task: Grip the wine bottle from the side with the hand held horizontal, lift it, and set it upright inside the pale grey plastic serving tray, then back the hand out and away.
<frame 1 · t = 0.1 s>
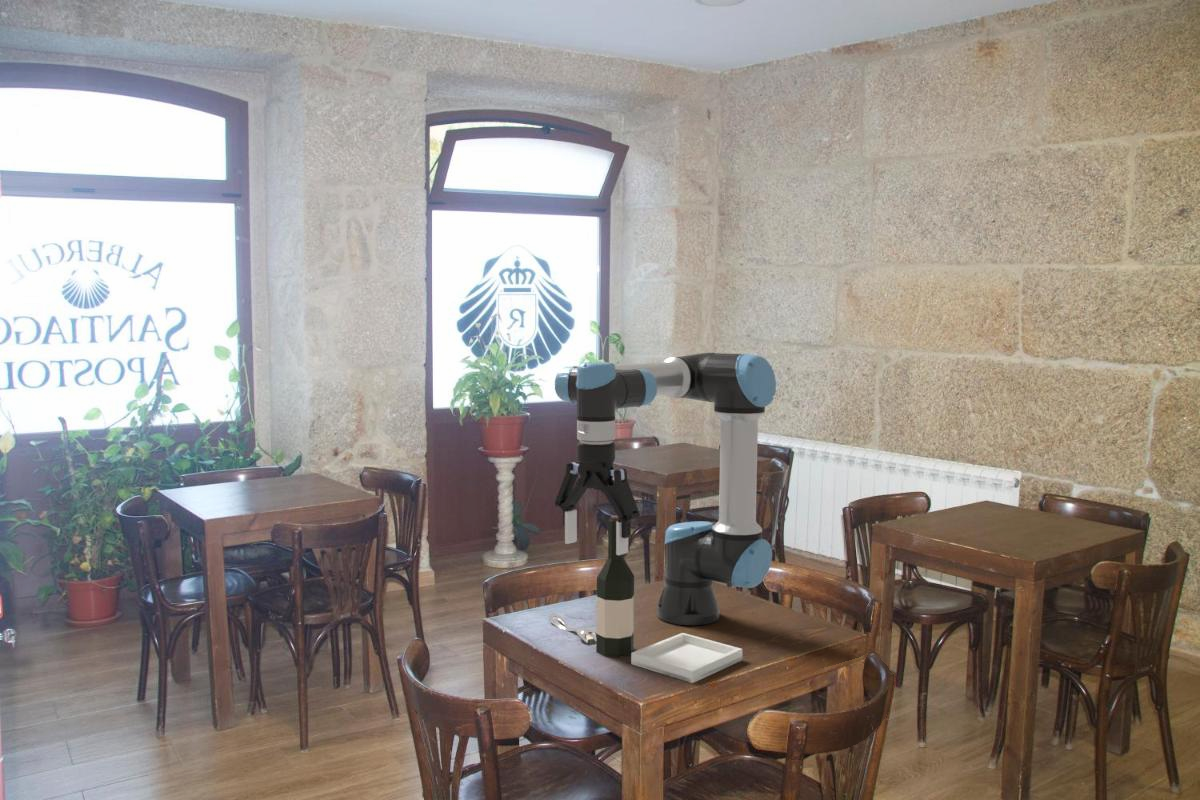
hand: (596, 548, 200), 28 cm above the table, tool pointing down, fingers open, 13 cm apart
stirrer: (572, 634, 236), on the table
serving tray: (687, 662, 216), on the table
wine bottle: (614, 651, 223), on the table
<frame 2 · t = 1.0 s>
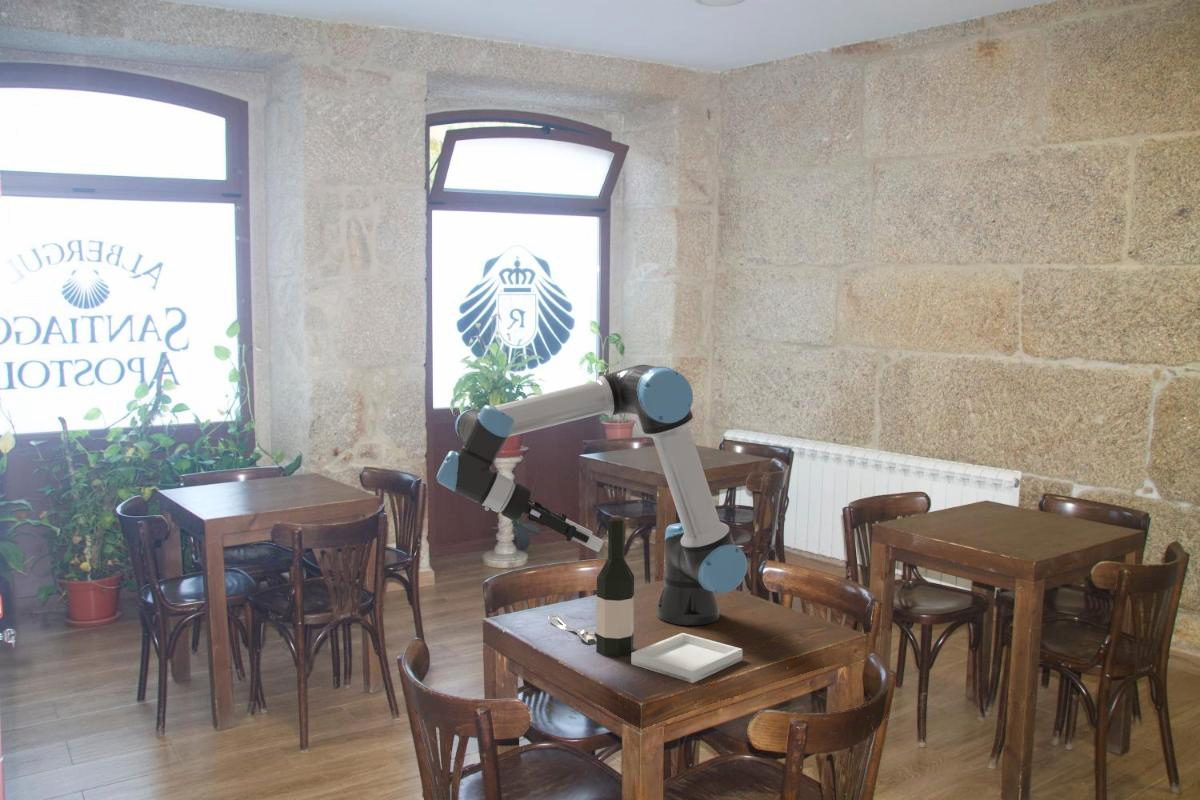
hand: (595, 541, 218), 25 cm above the table, tool tilted 60°, fingers open, 13 cm apart
nothing on the table moved.
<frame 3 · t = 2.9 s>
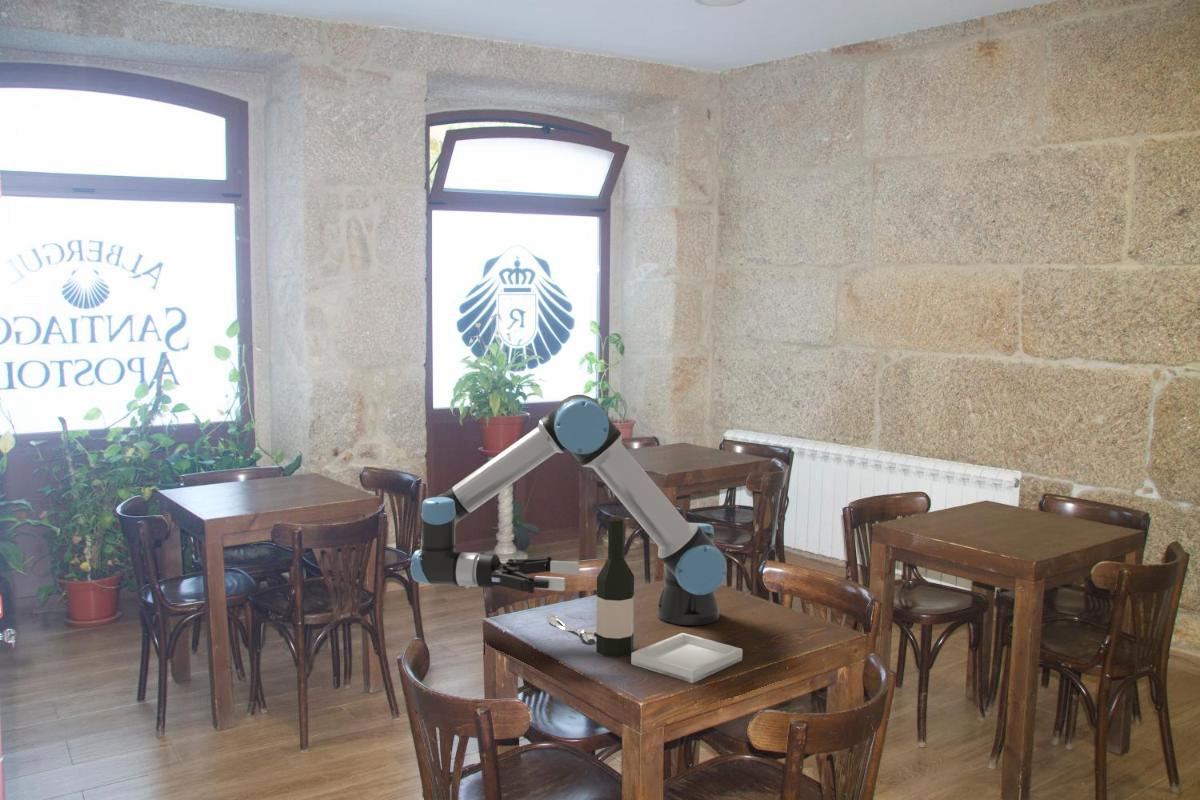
hand: (572, 576, 223), 16 cm above the table, tool horizontal, fingers open, 13 cm apart
nothing on the table moved.
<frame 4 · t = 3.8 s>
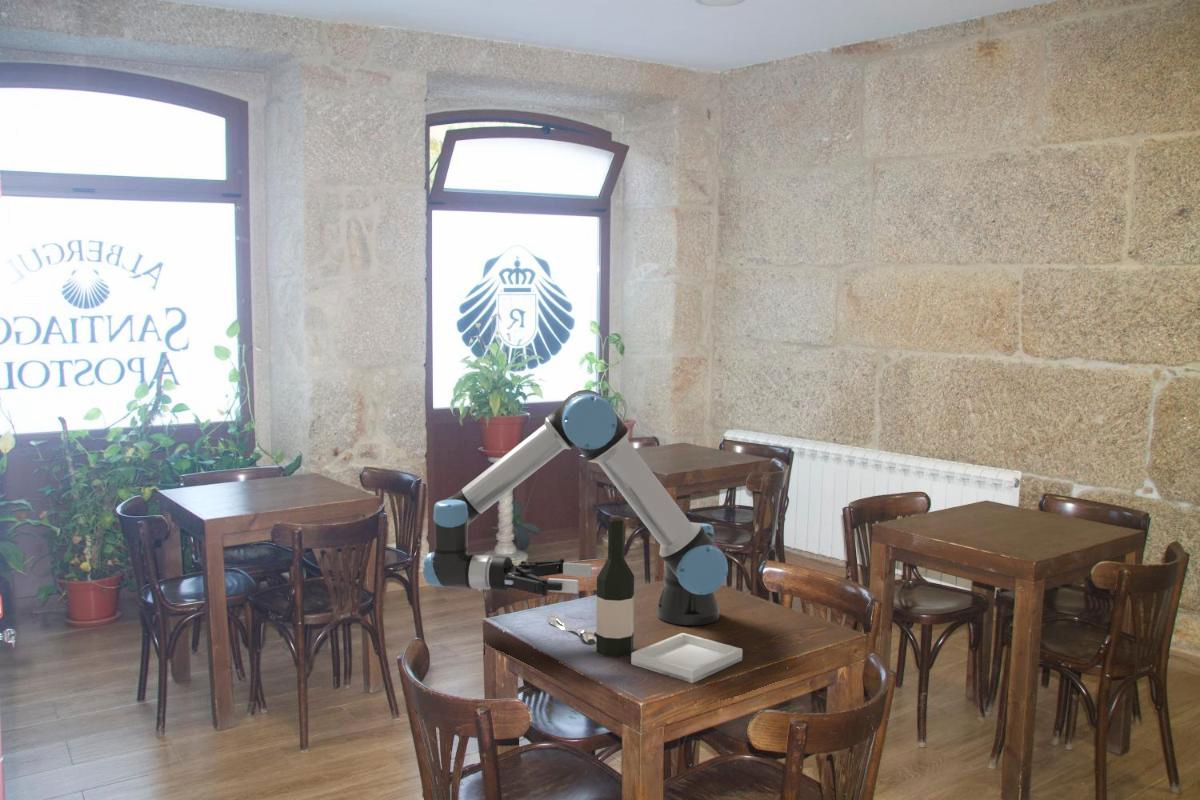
hand: (585, 578, 223), 16 cm above the table, tool horizontal, fingers open, 13 cm apart
nothing on the table moved.
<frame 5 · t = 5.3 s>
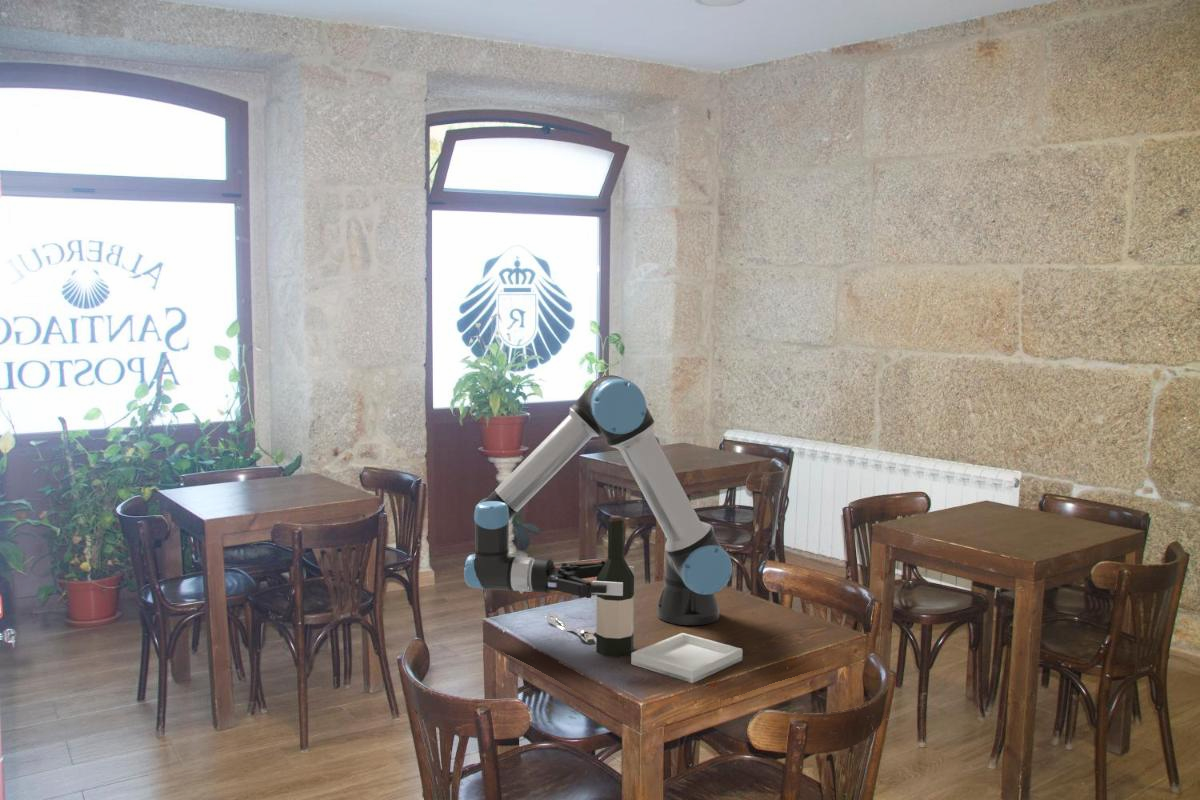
hand: (628, 580, 221), 16 cm above the table, tool horizontal, fingers open, 13 cm apart
nothing on the table moved.
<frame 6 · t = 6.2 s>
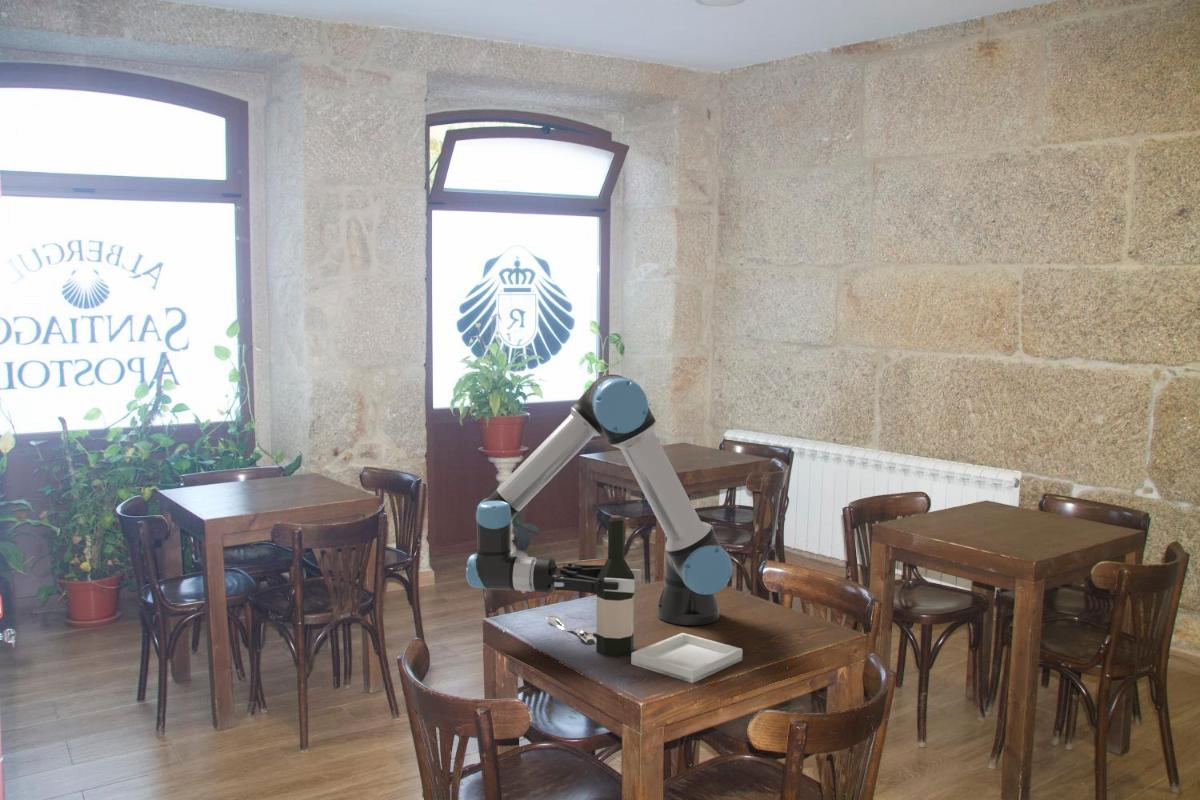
hand: (637, 580, 221), 16 cm above the table, tool horizontal, fingers closed on wine bottle, 8 cm apart
wine bottle: (614, 651, 223), on the table, touching gripper
everything else where it was.
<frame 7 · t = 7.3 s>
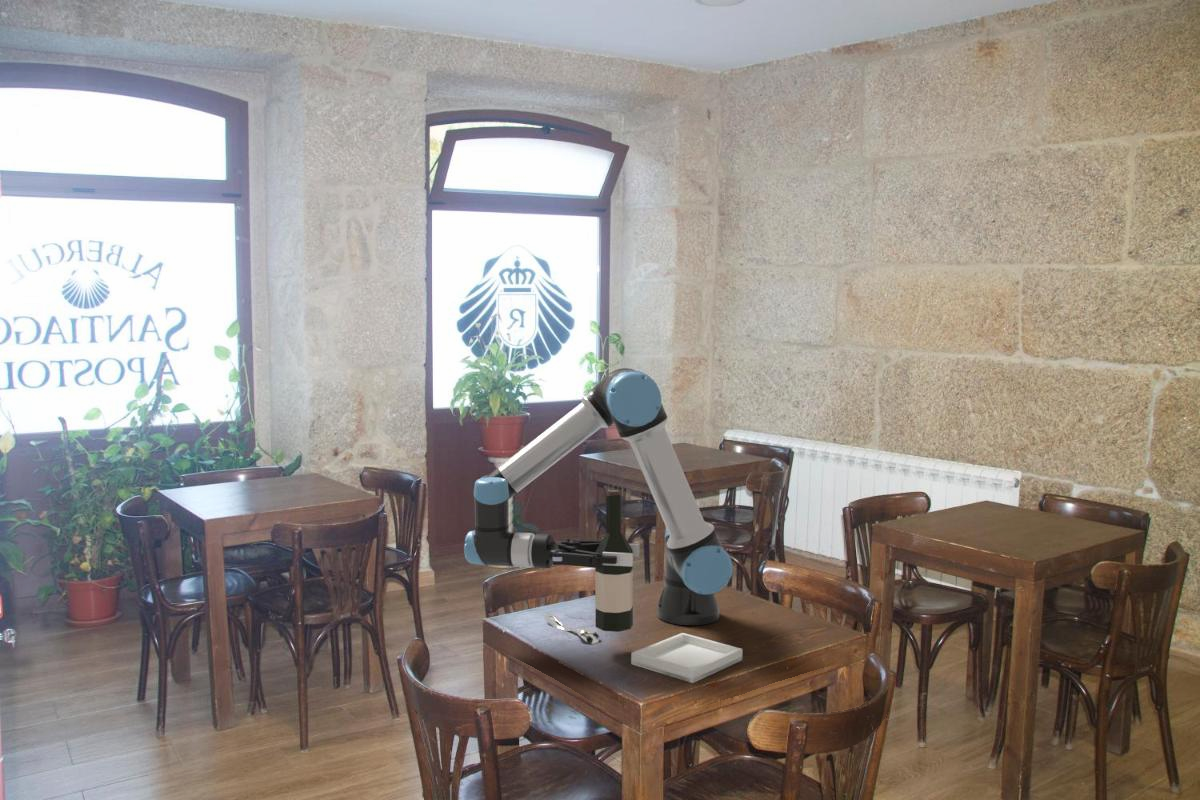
hand: (635, 555, 220), 22 cm above the table, tool horizontal, fingers closed on wine bottle, 8 cm apart
wine bottle: (614, 626, 223), point 5 cm above the table, touching gripper
everything else where it was.
when the fingers open (18 cm above the table, at t = 11.9 s): wine bottle drops 1 cm, resting on serving tray.
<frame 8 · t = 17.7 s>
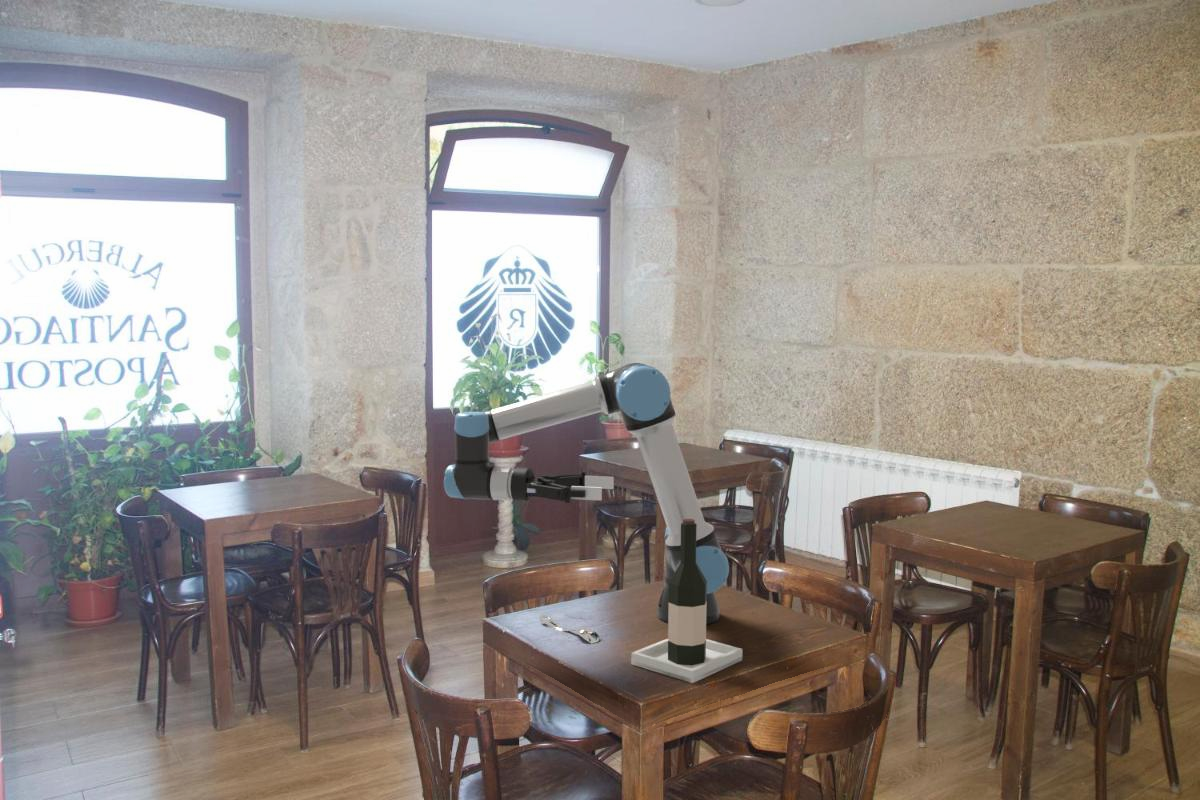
hand: (607, 488, 221), 36 cm above the table, tool horizontal, fingers open, 13 cm apart
wine bottle: (686, 659, 216), point 1 cm above the table, touching serving tray
at the end: wine bottle inside the target area on the serving tray (0.1 cm from its centre), point 0.6 cm above the serving tray's base; wine bottle tilted 0°; the gripper is holding nothing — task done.
